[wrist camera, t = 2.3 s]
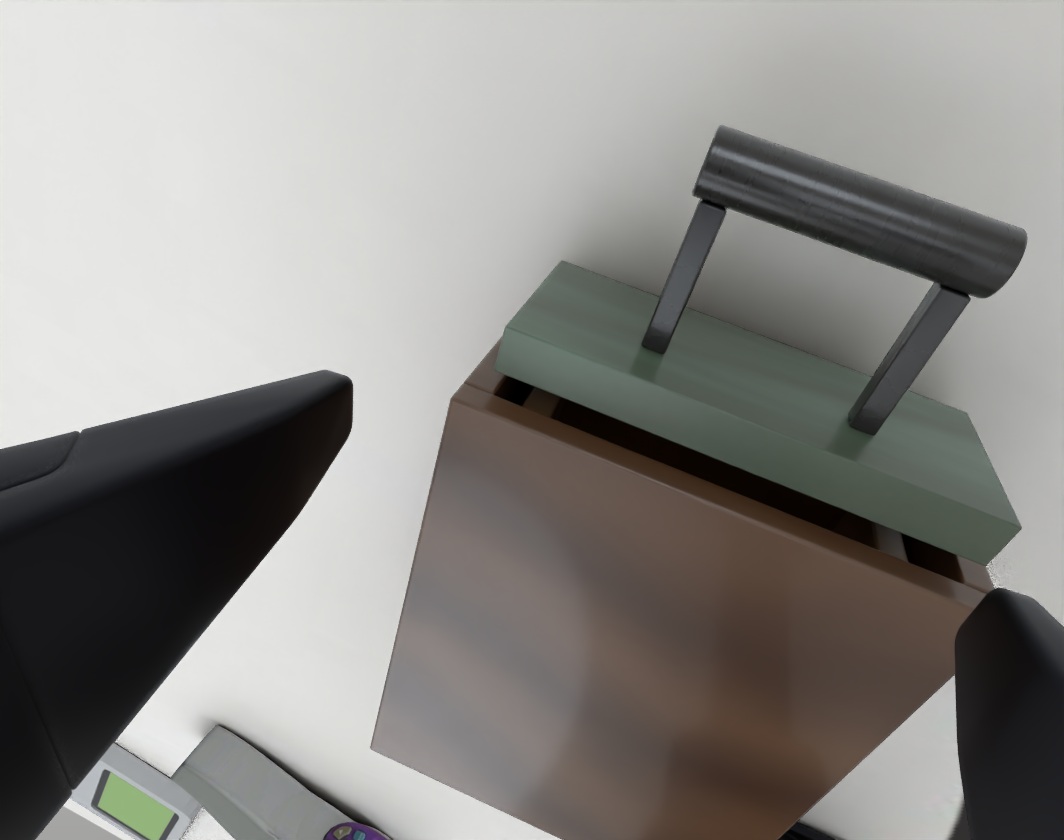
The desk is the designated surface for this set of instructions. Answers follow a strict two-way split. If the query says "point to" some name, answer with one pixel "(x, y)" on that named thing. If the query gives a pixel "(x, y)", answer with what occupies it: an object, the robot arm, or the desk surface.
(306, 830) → the infrared thermometer
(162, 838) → the handheld gaming console
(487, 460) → the drawer unit
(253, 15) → the desk surface
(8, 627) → the robot arm
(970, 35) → the desk surface
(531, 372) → the drawer
